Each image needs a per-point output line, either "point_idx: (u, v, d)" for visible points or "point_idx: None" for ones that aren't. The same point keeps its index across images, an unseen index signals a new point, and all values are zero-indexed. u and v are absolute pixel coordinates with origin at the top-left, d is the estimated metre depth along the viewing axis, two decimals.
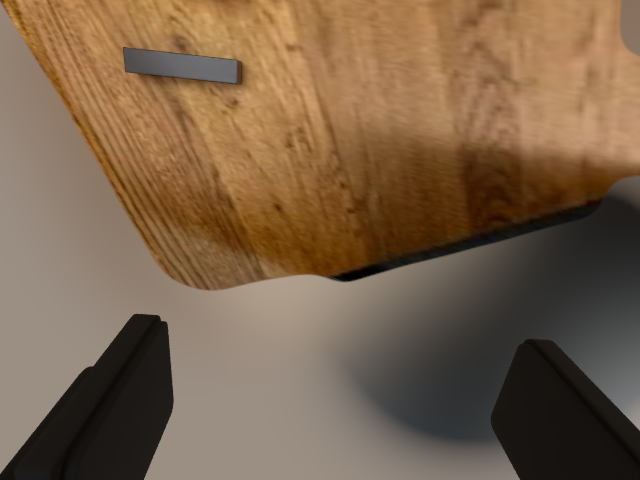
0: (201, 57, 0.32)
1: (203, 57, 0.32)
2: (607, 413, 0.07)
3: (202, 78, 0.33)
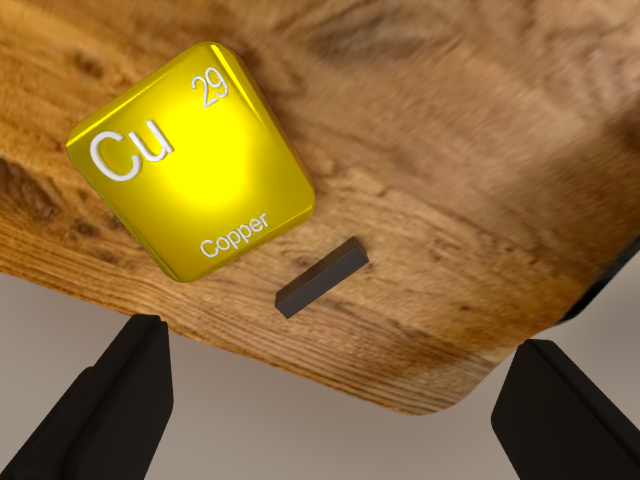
0: (330, 267, 0.33)
1: (331, 265, 0.33)
2: (607, 413, 0.07)
3: (341, 279, 0.34)
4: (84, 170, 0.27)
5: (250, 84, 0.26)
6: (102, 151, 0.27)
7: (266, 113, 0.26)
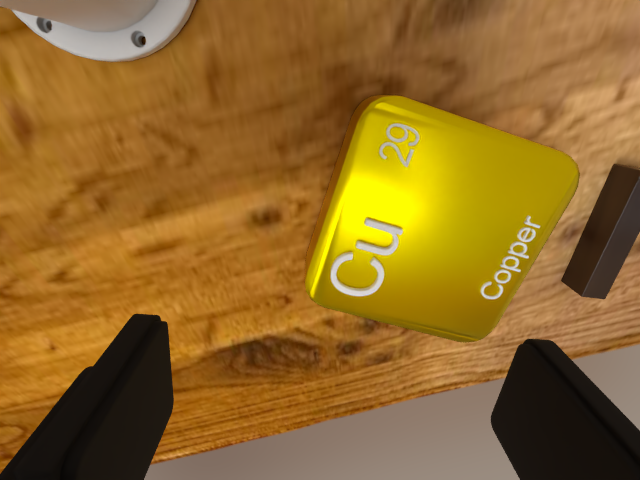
0: (622, 215, 0.26)
1: (623, 212, 0.25)
2: (607, 413, 0.07)
3: None
4: (338, 305, 0.26)
5: (433, 107, 0.21)
6: (342, 279, 0.25)
7: (467, 120, 0.21)
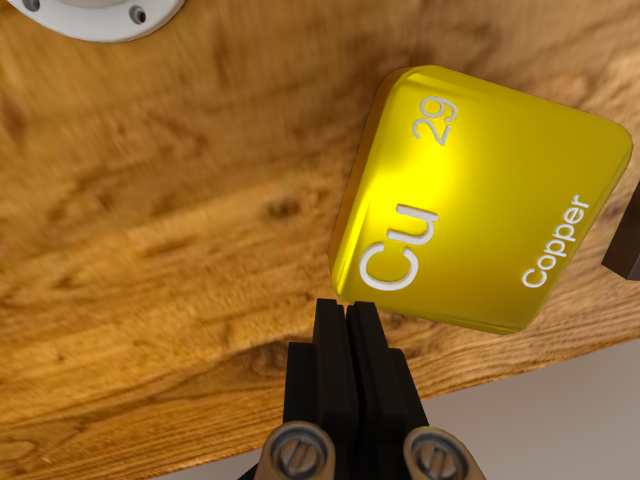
0: None
1: None
2: (376, 357, 0.08)
3: None
4: (367, 301, 0.24)
5: (472, 77, 0.19)
6: (371, 272, 0.23)
7: (510, 90, 0.19)
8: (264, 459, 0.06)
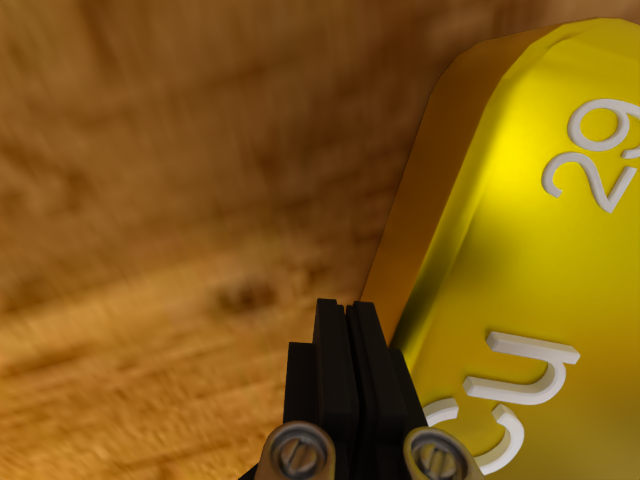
0: None
1: None
2: (376, 357, 0.08)
3: None
4: None
5: None
6: None
7: None
8: (264, 459, 0.06)
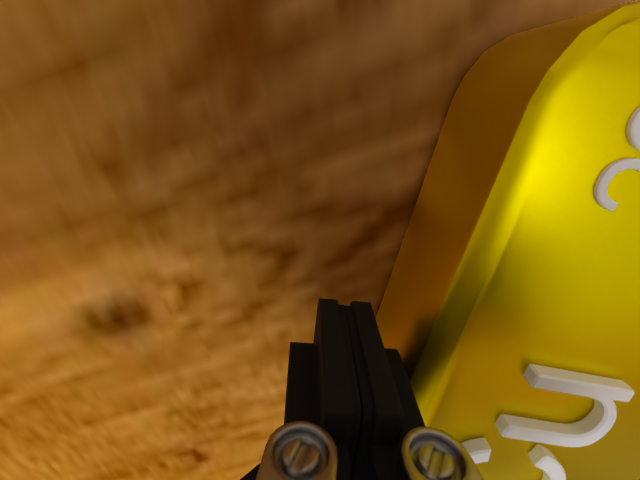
0: None
1: None
2: (372, 358, 0.08)
3: None
4: None
5: None
6: None
7: None
8: (266, 459, 0.06)
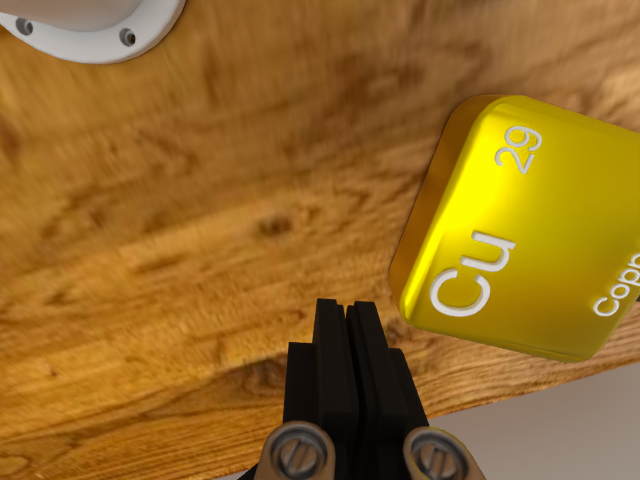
0: None
1: None
2: (376, 357, 0.08)
3: None
4: (434, 326, 0.23)
5: (558, 107, 0.19)
6: (441, 298, 0.23)
7: (595, 120, 0.19)
8: (264, 459, 0.06)
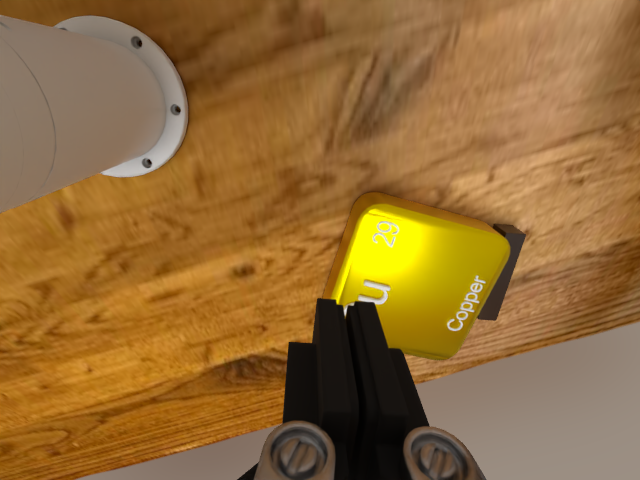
0: None
1: None
2: (376, 357, 0.08)
3: (514, 263, 0.36)
4: None
5: (408, 209, 0.31)
6: None
7: (431, 217, 0.32)
8: (264, 459, 0.06)
